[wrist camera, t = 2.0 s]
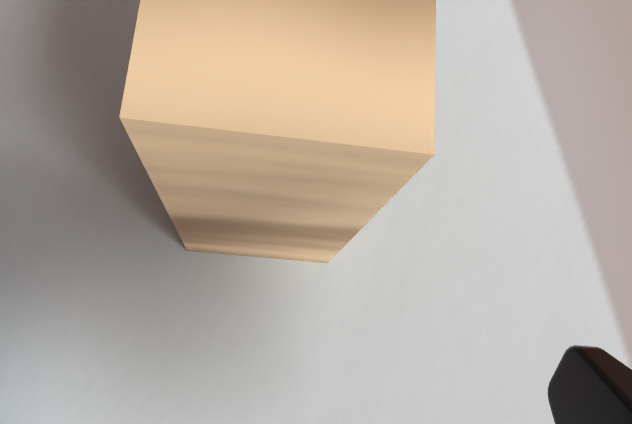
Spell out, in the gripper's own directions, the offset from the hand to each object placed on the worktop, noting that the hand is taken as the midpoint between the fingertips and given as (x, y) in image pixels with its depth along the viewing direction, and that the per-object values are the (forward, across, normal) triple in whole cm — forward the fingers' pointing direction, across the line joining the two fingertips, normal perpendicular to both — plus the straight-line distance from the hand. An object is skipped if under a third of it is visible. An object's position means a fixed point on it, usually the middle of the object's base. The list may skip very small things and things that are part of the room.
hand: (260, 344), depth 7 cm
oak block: (+12, 0, +4) cm, 13 cm away
